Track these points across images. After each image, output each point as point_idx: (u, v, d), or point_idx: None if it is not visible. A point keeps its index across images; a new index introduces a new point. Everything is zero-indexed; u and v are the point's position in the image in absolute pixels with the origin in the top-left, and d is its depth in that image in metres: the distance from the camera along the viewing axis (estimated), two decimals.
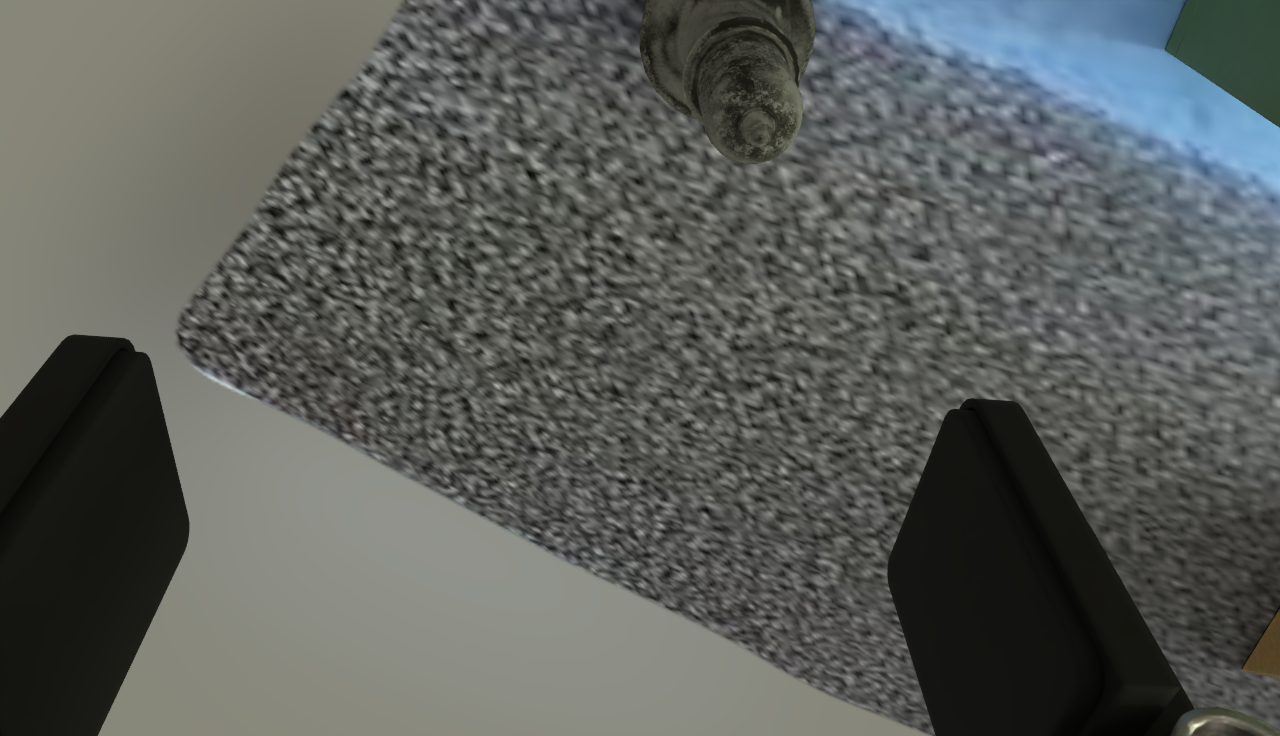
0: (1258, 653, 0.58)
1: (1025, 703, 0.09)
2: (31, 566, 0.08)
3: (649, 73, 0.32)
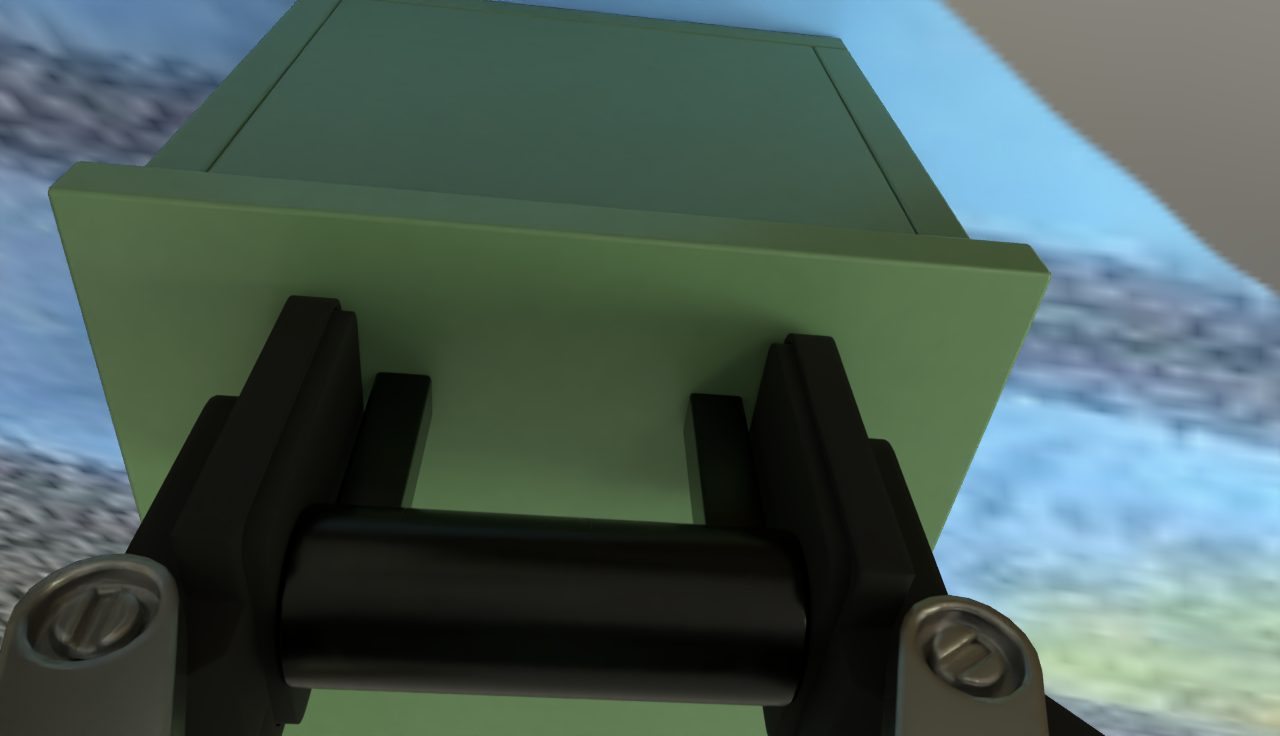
0: None
1: None
2: (298, 492, 0.09)
3: None
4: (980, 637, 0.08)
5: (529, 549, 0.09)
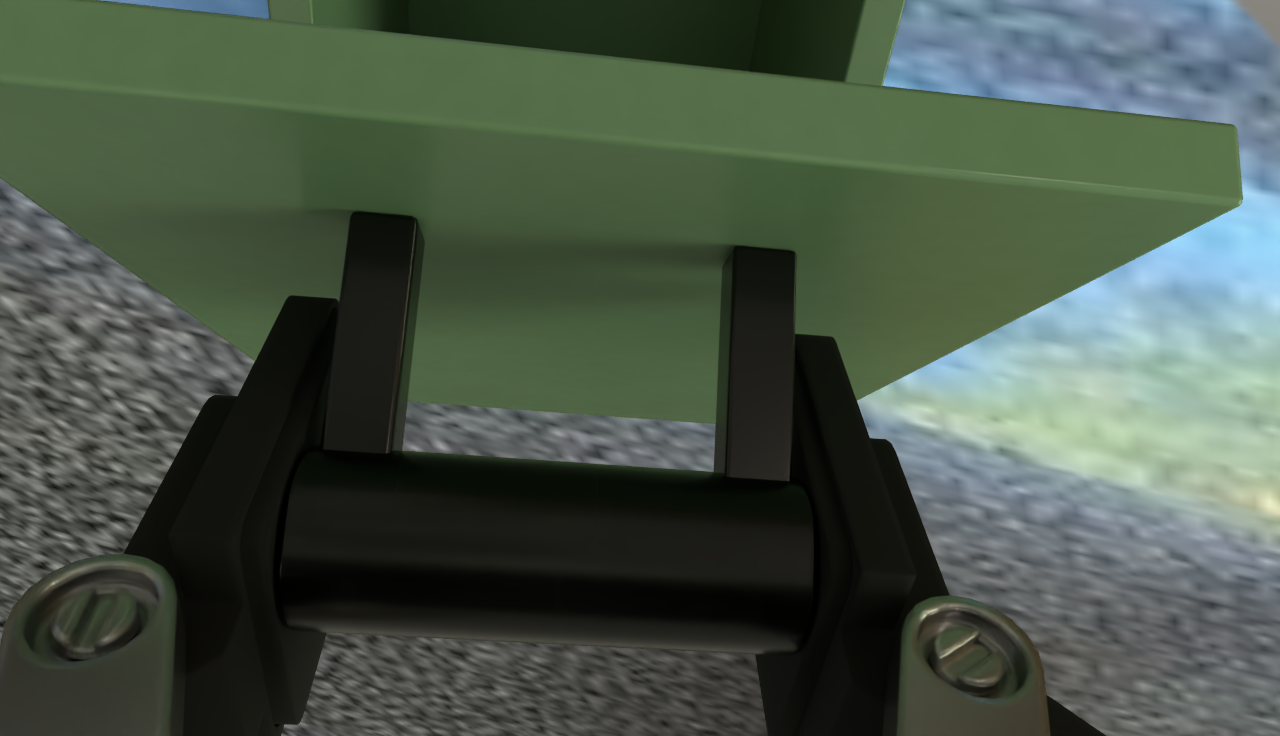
0: None
1: None
2: None
3: None
4: (982, 637, 0.08)
5: (529, 555, 0.09)
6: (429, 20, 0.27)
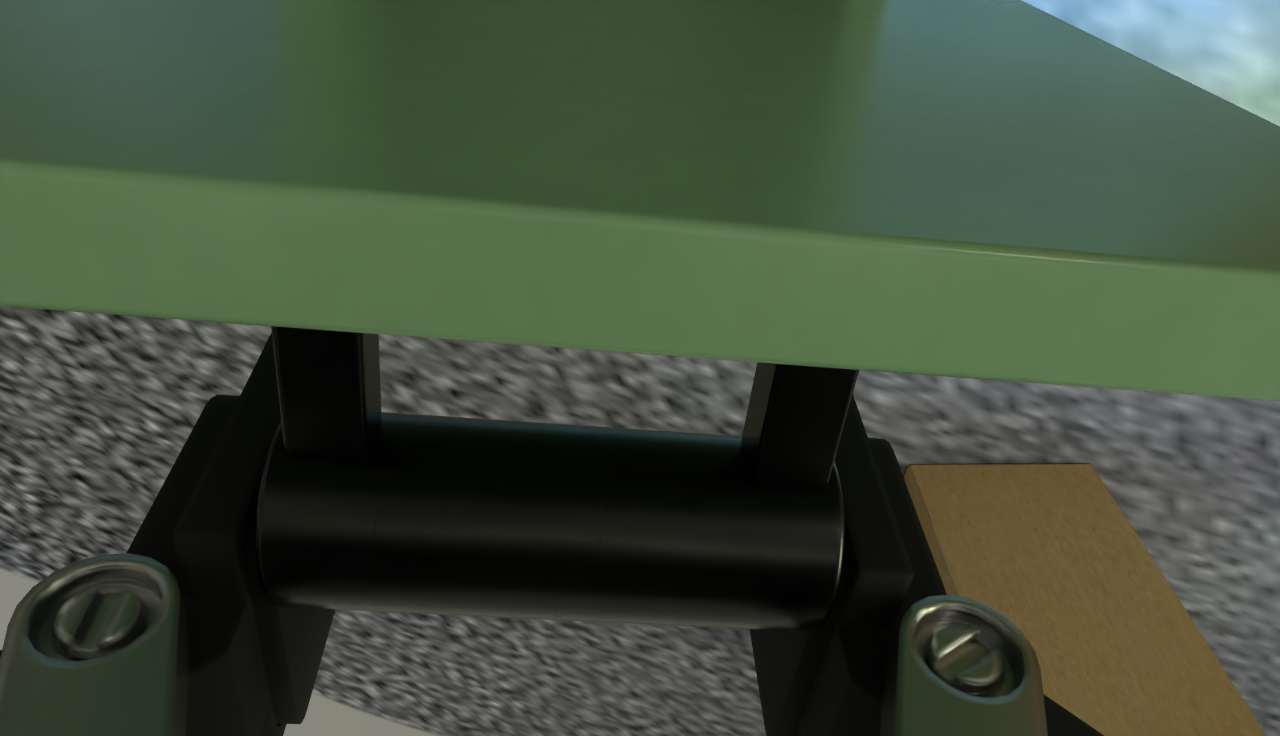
0: None
1: None
2: None
3: None
4: (979, 637, 0.08)
5: (525, 592, 0.08)
6: None
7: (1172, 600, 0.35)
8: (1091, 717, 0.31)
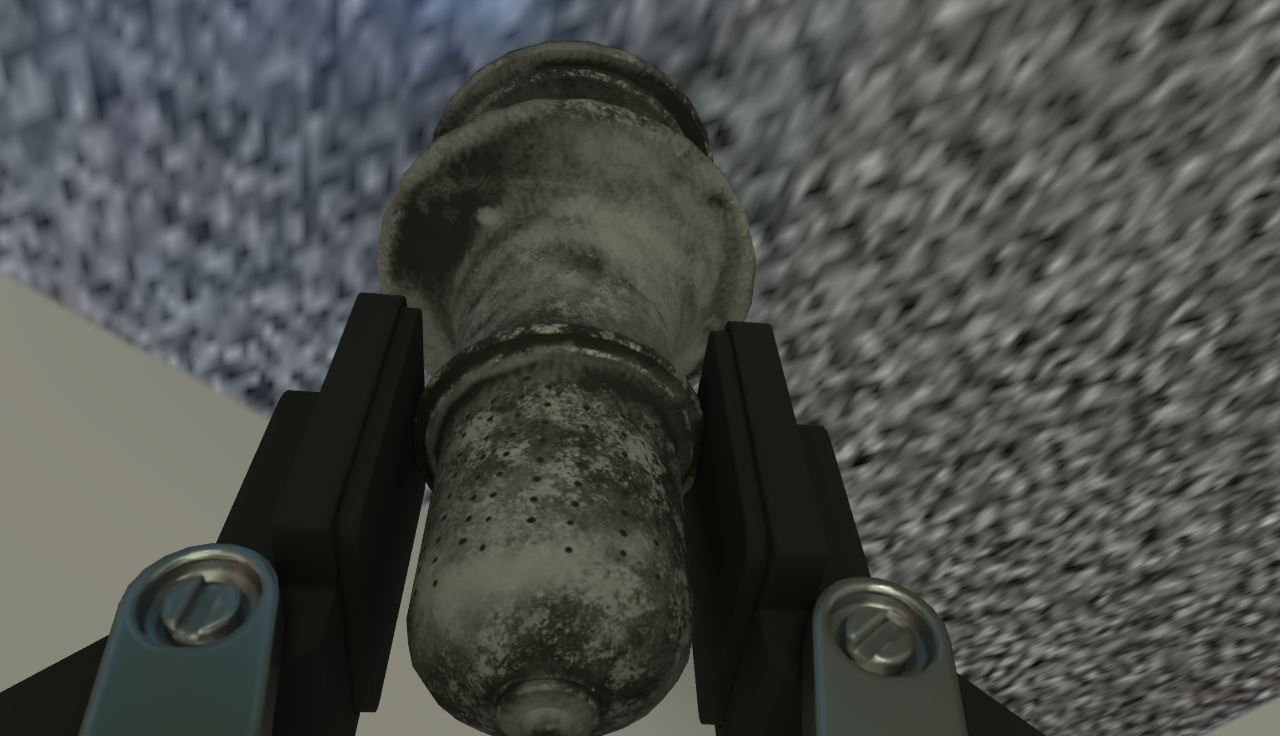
0: None
1: (726, 585, 0.09)
2: (380, 485, 0.09)
3: None
4: (890, 615, 0.08)
5: None
6: None
7: None
8: None
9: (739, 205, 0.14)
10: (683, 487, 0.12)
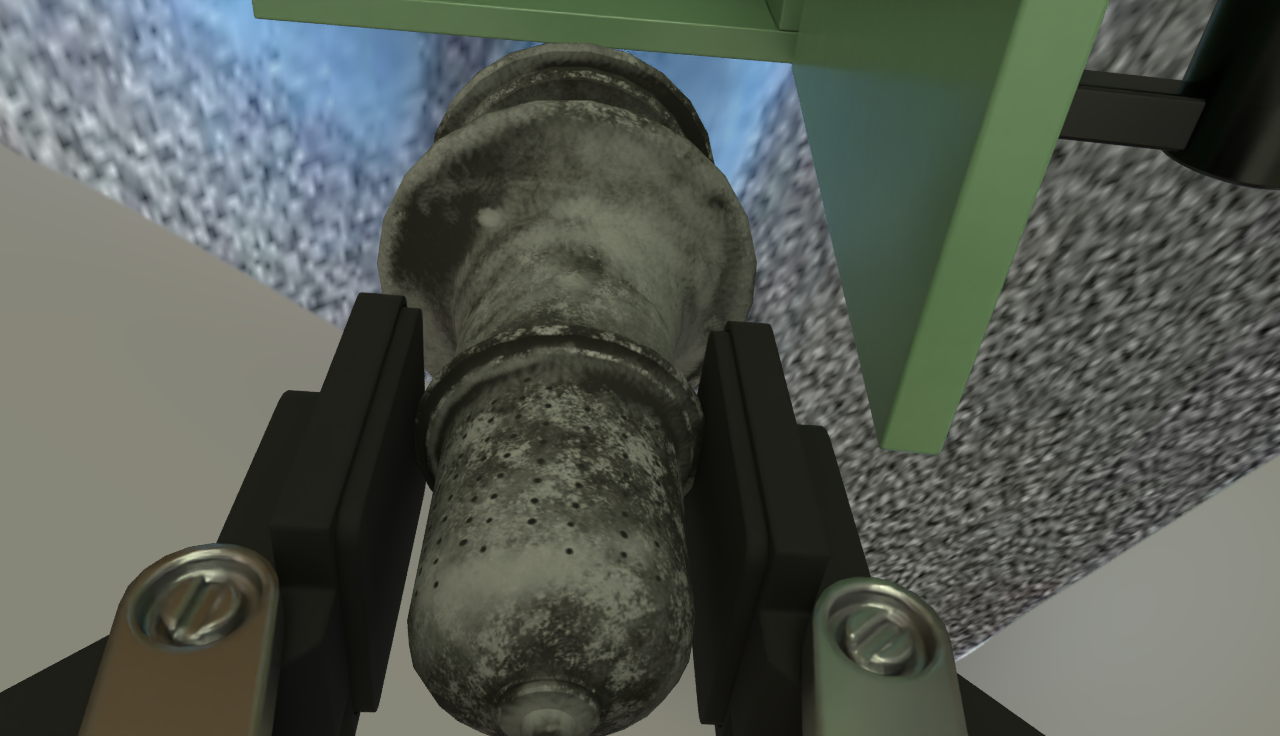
0: None
1: (725, 585, 0.09)
2: (380, 484, 0.09)
3: None
4: (890, 615, 0.08)
5: None
6: None
7: None
8: None
9: (740, 206, 0.14)
10: (684, 488, 0.12)
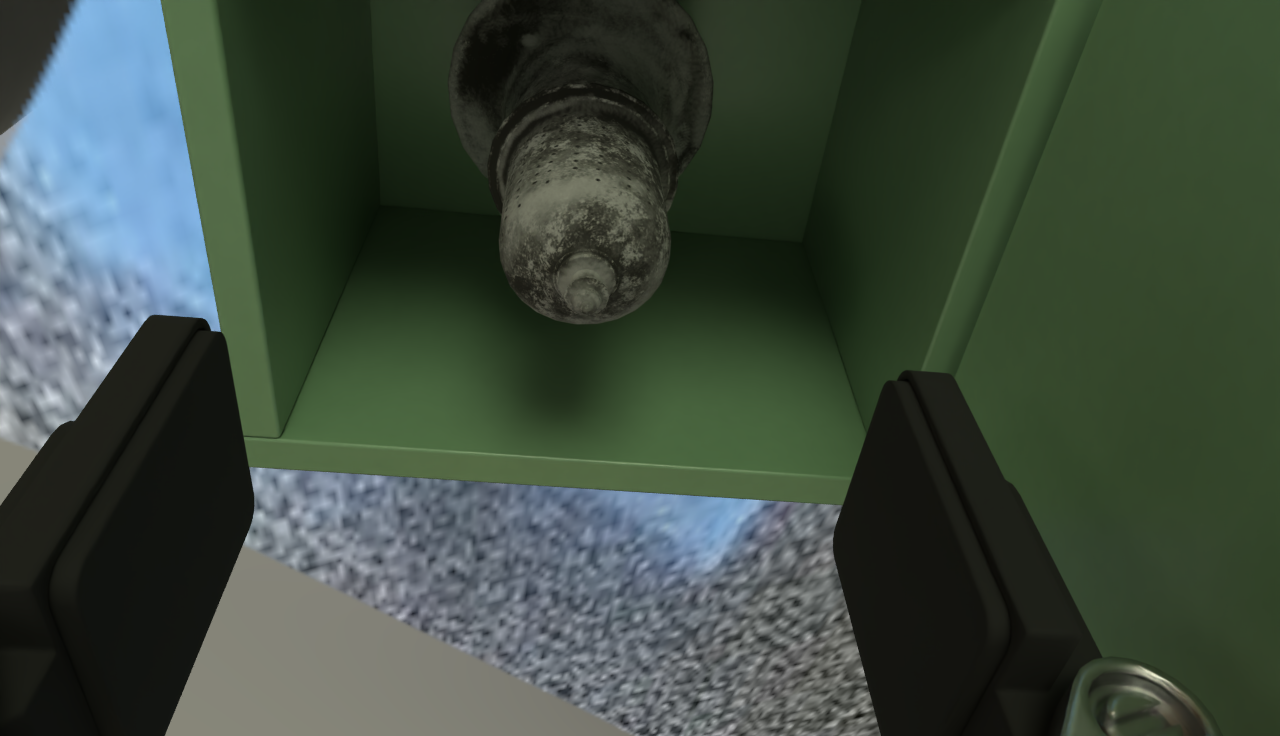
0: None
1: (944, 658, 0.09)
2: (131, 530, 0.08)
3: None
4: (1161, 709, 0.08)
5: None
6: None
7: None
8: None
9: (701, 38, 0.20)
10: None
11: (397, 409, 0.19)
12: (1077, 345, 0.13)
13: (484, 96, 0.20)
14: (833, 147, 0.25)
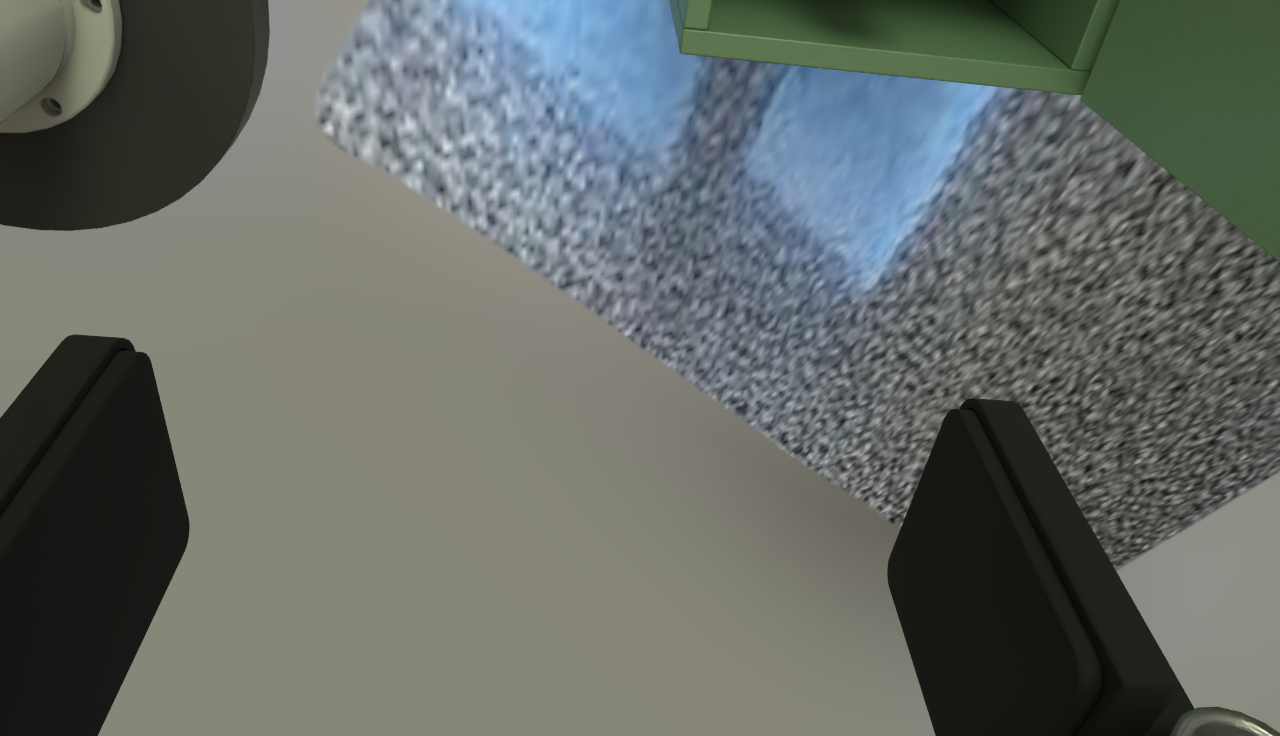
0: None
1: (1025, 703, 0.09)
2: (31, 566, 0.08)
3: None
4: None
5: None
6: None
7: None
8: None
9: None
10: None
11: (765, 26, 0.31)
12: None
13: None
14: None
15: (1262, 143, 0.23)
